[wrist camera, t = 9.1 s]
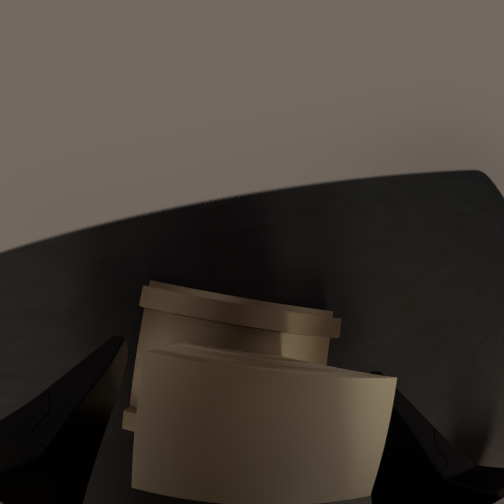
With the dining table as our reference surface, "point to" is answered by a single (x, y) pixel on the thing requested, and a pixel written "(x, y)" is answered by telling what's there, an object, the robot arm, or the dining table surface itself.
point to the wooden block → (256, 427)
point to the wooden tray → (227, 328)
